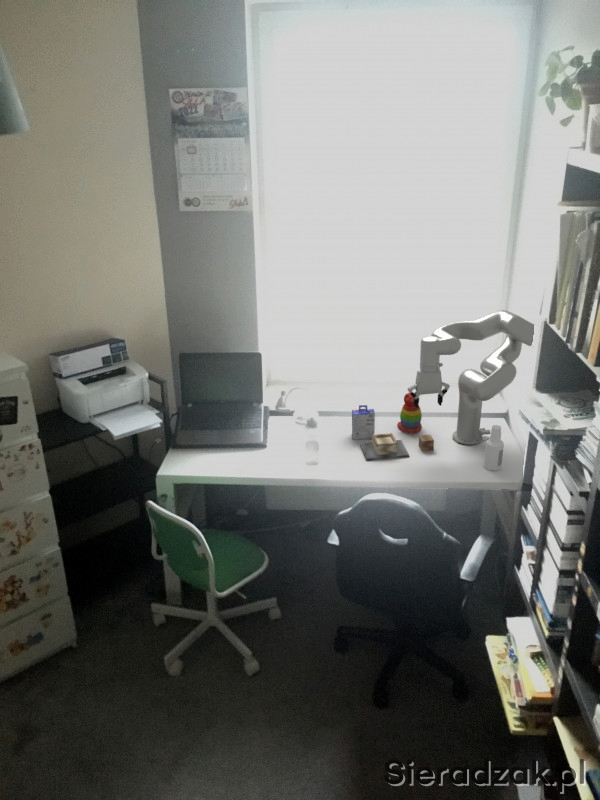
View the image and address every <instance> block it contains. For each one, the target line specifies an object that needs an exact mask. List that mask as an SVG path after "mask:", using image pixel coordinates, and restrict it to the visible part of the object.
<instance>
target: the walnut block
mask: <svg viewBox="0 0 600 800" xmlns="http://www.w3.org/2000/svg"><path fill="white" fill-rule="evenodd" d="M434 445H435V439H434V438H433V436H432V434H424V435H422V434H421V435H419V436H418V447H419V449H420V451H421V452H432V451H434Z"/></svg>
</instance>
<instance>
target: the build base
mask: <svg viewBox="0 0 600 800" xmlns="http://www.w3.org/2000/svg"><path fill="white" fill-rule="evenodd" d="M359 447H360V448H361V451H362V453H363V456H364V459H365V461H366V462H367V461H368V462H369V461H379V460H388V459H389V460H390V459H400V458H401V459H403V458H410V454H409V452H408V450H407V448H406V446H405V444H404V443H403V441H402V439H396V438H395V436H394V434H393V433H392V432H390V433H378V434H377V433H376V434H375V433H374V435H372V439H371V442H363V443H360V444H359Z"/></svg>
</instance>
